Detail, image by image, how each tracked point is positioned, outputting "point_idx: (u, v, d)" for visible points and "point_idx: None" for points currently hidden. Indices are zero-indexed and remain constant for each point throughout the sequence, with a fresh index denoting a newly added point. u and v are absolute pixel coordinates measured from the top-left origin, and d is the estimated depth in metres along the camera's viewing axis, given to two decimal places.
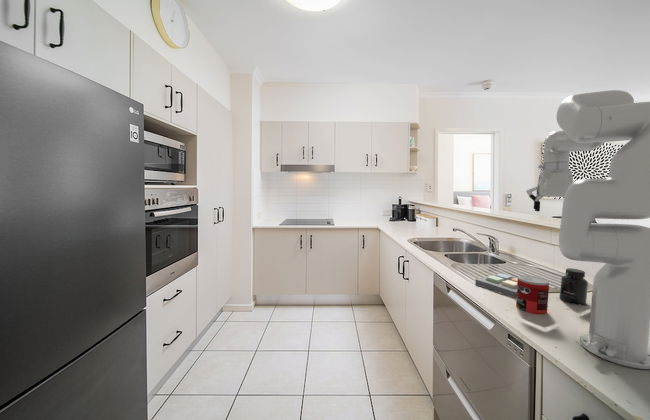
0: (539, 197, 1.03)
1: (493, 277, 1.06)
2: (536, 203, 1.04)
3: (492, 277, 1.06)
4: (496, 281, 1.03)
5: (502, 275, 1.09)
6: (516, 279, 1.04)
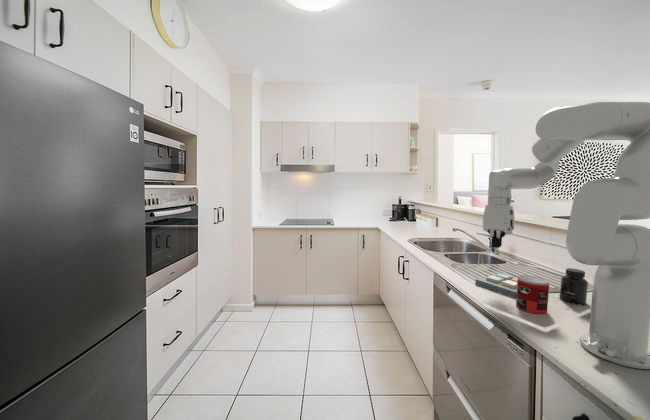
0: None
1: (493, 277, 1.06)
2: None
3: (492, 277, 1.06)
4: (496, 281, 1.03)
5: (502, 275, 1.09)
6: (516, 279, 1.04)
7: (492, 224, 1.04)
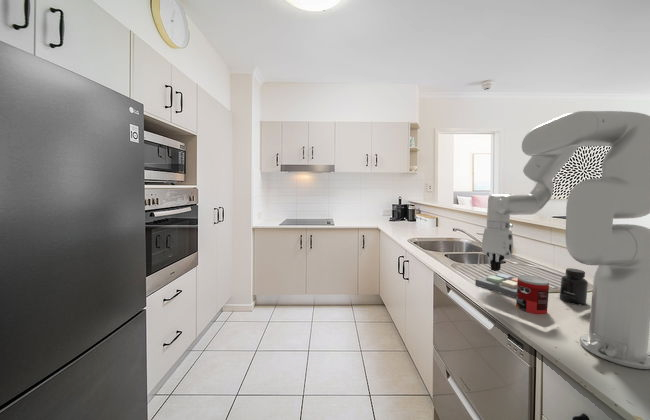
0: None
1: (493, 277, 1.06)
2: None
3: (492, 277, 1.06)
4: (496, 281, 1.03)
5: (502, 275, 1.09)
6: (516, 279, 1.04)
7: (491, 248, 1.04)
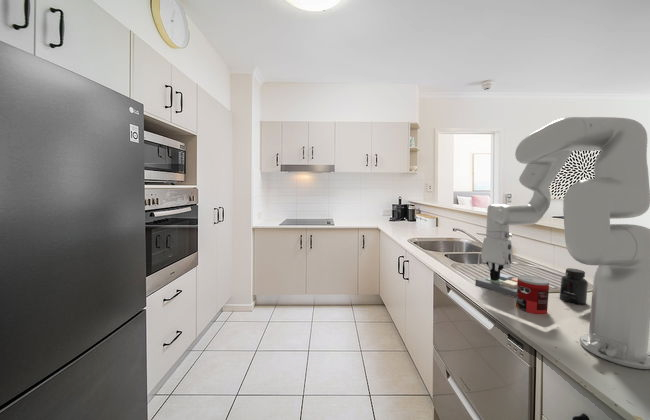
0: None
1: None
2: None
3: None
4: None
5: (502, 275, 1.09)
6: (516, 279, 1.04)
7: (490, 257, 1.05)
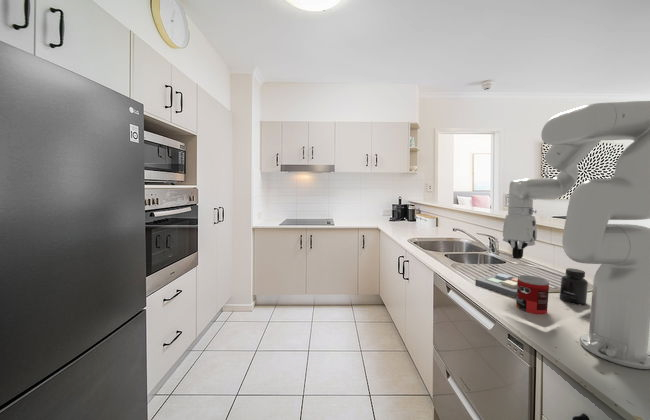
0: None
1: (493, 279, 1.06)
2: None
3: (492, 279, 1.06)
4: None
5: (502, 275, 1.09)
6: (516, 279, 1.04)
7: (513, 235, 1.02)
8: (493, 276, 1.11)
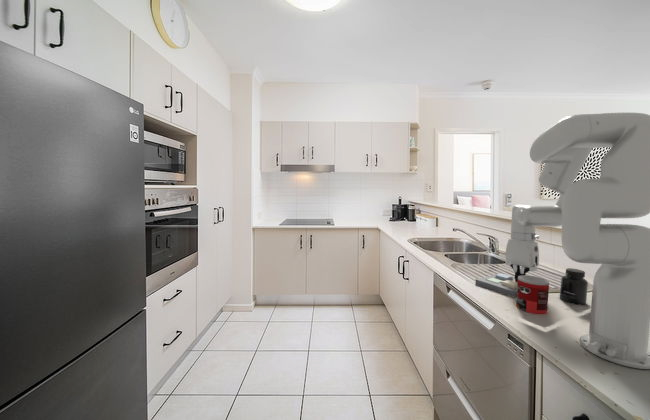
0: None
1: (493, 279, 1.06)
2: None
3: (492, 279, 1.06)
4: None
5: (502, 275, 1.09)
6: None
7: (515, 259, 1.02)
8: (493, 276, 1.11)
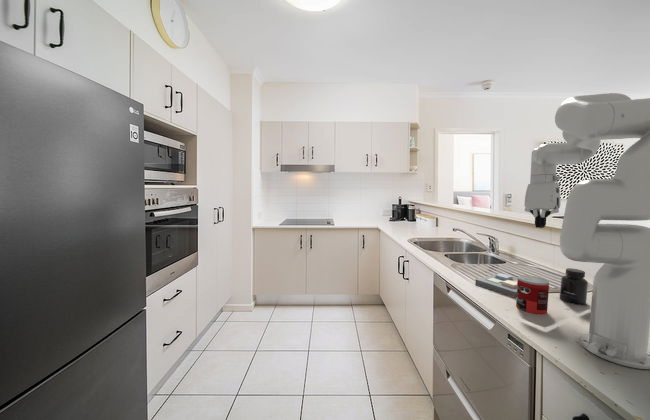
0: None
1: (493, 279, 1.06)
2: None
3: (492, 279, 1.06)
4: None
5: (502, 275, 1.09)
6: None
7: (536, 203, 1.00)
8: (493, 276, 1.11)
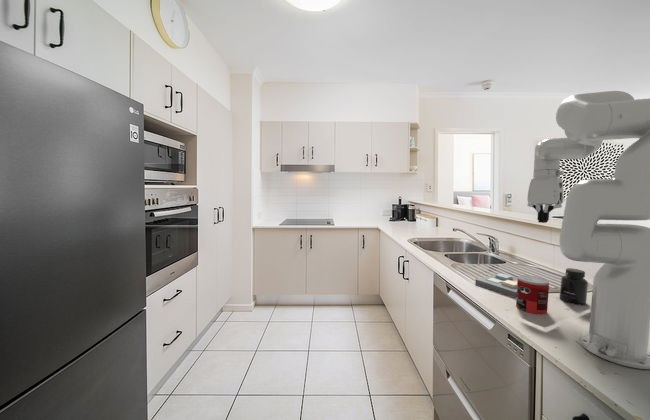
0: None
1: (493, 279, 1.06)
2: None
3: (492, 279, 1.06)
4: None
5: (502, 275, 1.09)
6: None
7: (539, 198, 1.01)
8: (493, 276, 1.11)
